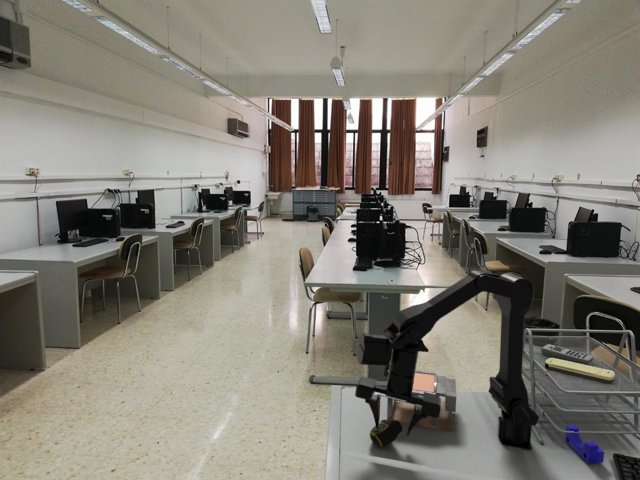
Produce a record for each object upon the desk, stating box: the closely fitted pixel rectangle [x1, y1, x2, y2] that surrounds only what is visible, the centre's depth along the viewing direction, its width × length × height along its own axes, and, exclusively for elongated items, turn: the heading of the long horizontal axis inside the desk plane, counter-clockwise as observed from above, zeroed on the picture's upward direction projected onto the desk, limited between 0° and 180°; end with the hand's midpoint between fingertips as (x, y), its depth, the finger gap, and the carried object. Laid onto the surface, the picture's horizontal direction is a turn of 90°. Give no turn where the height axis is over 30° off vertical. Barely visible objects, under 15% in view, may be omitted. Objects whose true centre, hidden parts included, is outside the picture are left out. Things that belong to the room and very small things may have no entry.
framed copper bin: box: [386, 369, 454, 432], centre depth 113 cm, size 16×14×8 cm
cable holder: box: [564, 424, 605, 464], centre depth 97 cm, size 8×4×4 cm, turn 3°
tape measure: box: [369, 419, 404, 448], centre depth 98 cm, size 7×7×4 cm
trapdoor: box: [413, 373, 457, 413], centre depth 112 cm, size 15×10×5 cm, turn 74°
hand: (392, 430), depth 99 cm, fingers open, 7 cm apart
